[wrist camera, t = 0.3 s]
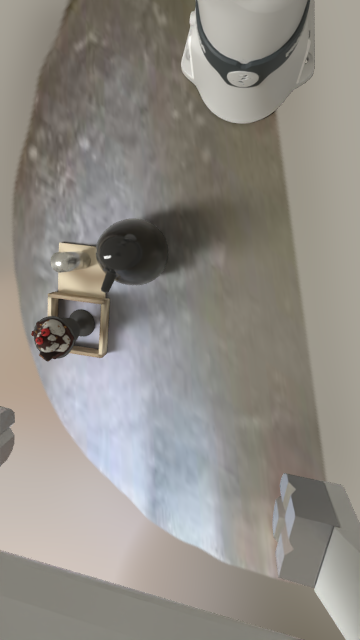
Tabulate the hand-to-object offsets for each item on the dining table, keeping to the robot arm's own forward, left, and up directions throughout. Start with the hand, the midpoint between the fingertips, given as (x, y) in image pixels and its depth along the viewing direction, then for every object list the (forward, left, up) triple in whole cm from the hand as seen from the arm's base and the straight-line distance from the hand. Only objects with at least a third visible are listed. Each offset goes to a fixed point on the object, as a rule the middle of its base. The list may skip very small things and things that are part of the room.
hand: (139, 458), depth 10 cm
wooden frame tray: (+5, -23, -48) cm, 53 cm away
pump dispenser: (-3, -13, -48) cm, 50 cm away
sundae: (+10, -23, -48) cm, 54 cm away
